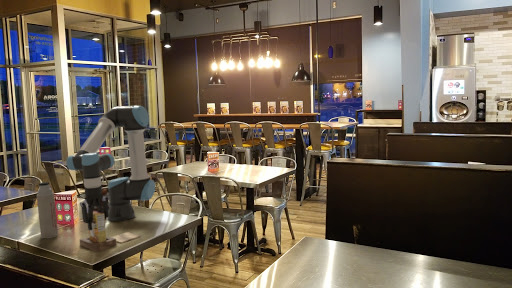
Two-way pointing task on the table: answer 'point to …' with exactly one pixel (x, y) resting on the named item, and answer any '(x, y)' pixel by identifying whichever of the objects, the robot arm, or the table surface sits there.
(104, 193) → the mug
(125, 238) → the plate
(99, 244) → the collar
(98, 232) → the candy box
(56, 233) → the thermos bottle
